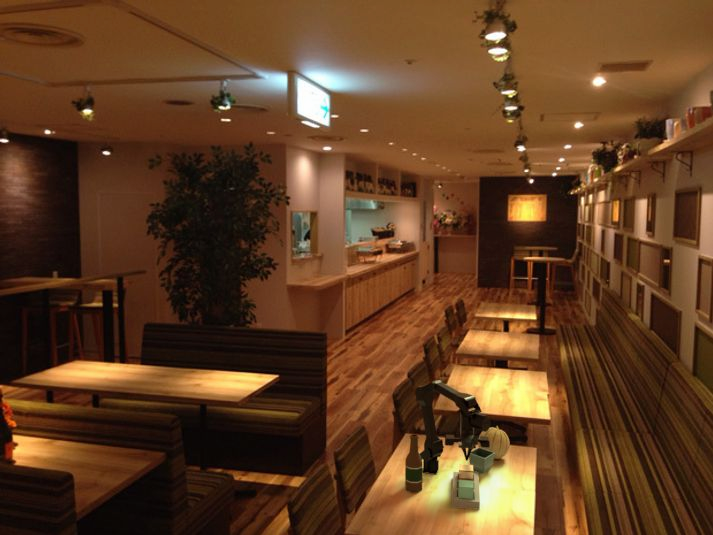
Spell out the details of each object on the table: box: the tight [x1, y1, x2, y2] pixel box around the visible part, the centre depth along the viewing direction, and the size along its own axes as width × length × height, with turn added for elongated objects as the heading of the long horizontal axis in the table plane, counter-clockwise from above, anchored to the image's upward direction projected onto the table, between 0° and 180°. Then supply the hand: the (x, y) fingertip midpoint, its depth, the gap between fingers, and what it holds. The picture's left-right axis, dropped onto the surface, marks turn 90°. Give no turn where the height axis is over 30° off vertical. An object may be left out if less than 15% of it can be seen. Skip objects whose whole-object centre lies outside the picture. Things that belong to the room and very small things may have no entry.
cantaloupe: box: [477, 425, 511, 460], centre depth 301 cm, size 15×15×15 cm
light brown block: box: [458, 463, 474, 473], centre depth 274 cm, size 6×6×5 cm
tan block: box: [458, 470, 474, 482], centre depth 266 cm, size 6×6×5 cm
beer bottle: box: [404, 433, 424, 494], centre depth 269 cm, size 8×8×24 cm
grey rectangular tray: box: [451, 471, 481, 510], centre depth 267 cm, size 11×26×3 cm, turn 170°
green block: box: [457, 480, 474, 500], centre depth 258 cm, size 6×6×5 cm
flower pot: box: [468, 447, 495, 475], centre depth 287 cm, size 9×9×9 cm
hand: (466, 460), depth 270 cm, fingers closed
